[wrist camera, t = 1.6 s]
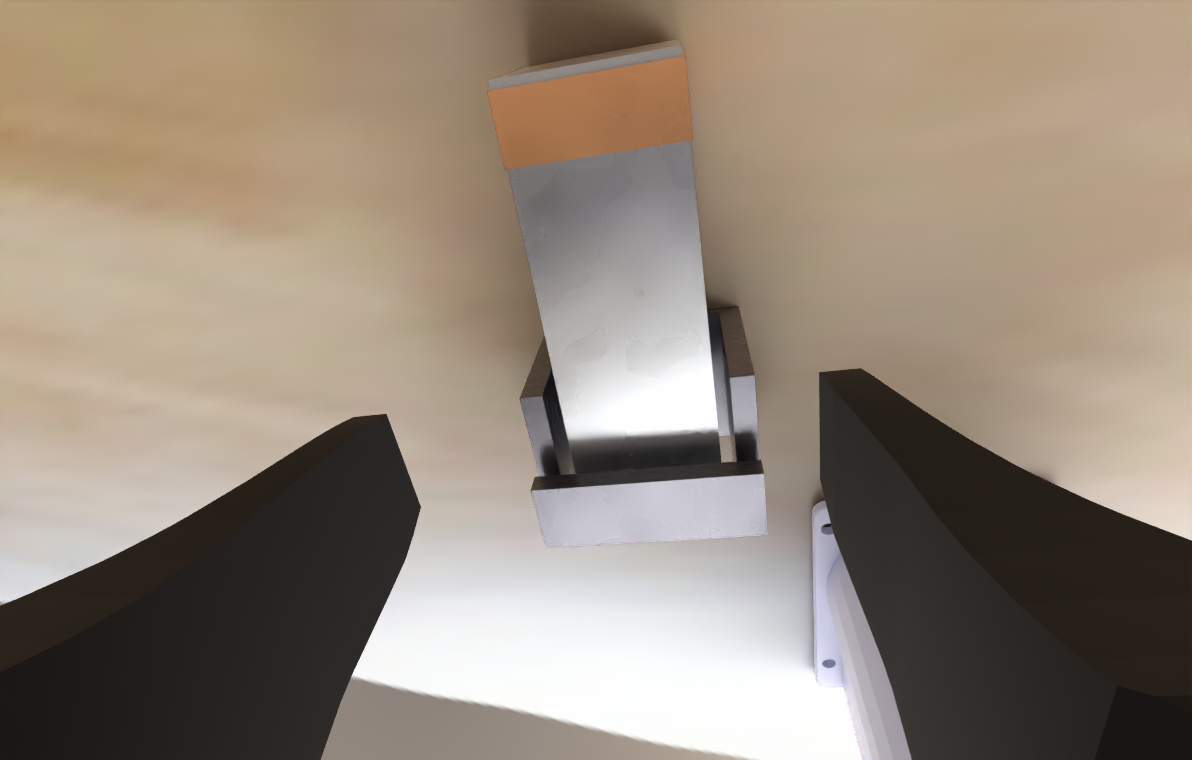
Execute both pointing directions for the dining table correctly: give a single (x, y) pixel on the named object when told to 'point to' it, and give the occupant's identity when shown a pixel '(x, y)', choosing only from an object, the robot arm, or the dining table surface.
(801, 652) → the dining table surface
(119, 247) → the dining table surface
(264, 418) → the dining table surface
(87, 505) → the dining table surface
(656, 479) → the sleeve
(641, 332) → the tube
